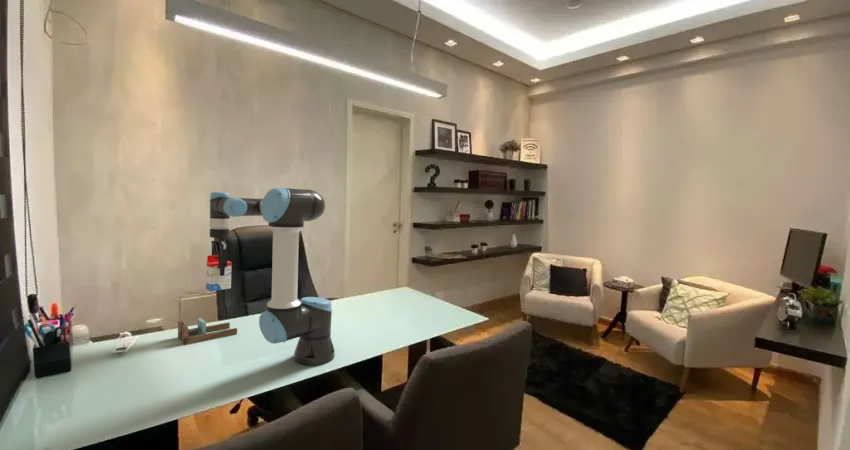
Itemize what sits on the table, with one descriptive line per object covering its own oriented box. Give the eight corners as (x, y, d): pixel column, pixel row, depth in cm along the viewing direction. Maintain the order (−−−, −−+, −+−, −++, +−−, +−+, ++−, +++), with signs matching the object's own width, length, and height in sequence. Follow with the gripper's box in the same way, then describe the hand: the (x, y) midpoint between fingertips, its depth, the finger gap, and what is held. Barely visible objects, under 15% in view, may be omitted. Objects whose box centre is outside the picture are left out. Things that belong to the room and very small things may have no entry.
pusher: (205, 338, 160) (206, 322, 160) (186, 342, 155) (186, 325, 155) (200, 333, 165) (200, 318, 165) (181, 337, 160) (181, 321, 160)
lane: (237, 334, 168) (237, 318, 167) (184, 345, 153) (184, 328, 153) (228, 327, 175) (228, 312, 174) (177, 337, 161) (178, 321, 160)
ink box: (211, 291, 161) (211, 257, 160) (205, 289, 164) (206, 255, 163) (231, 288, 167) (232, 255, 166) (226, 286, 170) (226, 253, 169)
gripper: (236, 230, 160) (235, 284, 162) (221, 226, 173) (221, 276, 174) (217, 230, 155) (216, 286, 156) (203, 226, 167) (202, 278, 169)
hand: (218, 281), depth 165 cm, fingers closed on ink box, 5 cm apart
